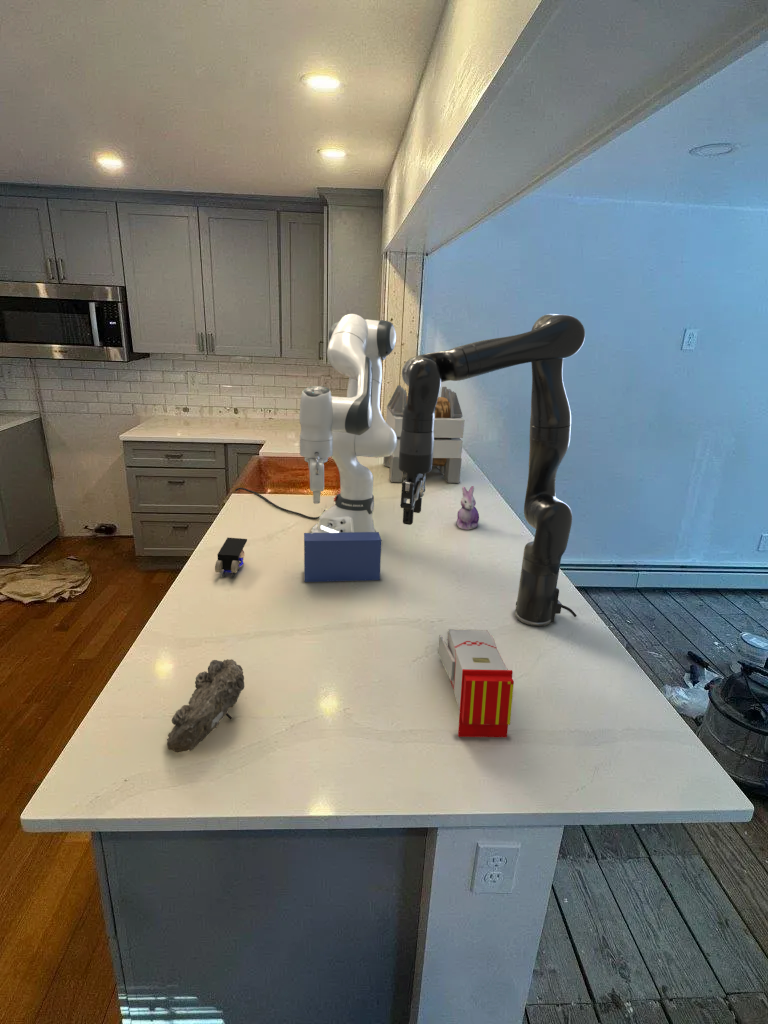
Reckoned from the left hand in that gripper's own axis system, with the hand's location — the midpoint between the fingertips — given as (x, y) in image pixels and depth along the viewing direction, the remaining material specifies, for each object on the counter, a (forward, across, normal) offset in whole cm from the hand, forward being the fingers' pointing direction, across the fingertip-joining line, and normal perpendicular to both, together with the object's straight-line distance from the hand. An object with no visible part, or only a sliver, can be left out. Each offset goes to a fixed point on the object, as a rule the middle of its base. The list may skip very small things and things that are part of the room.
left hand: (316, 497), depth 157 cm
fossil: (+25, -58, +21) cm, 67 cm away
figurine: (+25, +40, -57) cm, 73 cm away
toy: (+25, -55, -31) cm, 68 cm away
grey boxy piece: (+24, +110, -53) cm, 124 cm away
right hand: (-4, -29, -21) cm, 36 cm away
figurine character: (+25, +6, +24) cm, 35 cm away
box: (+25, 0, -8) cm, 26 cm away
